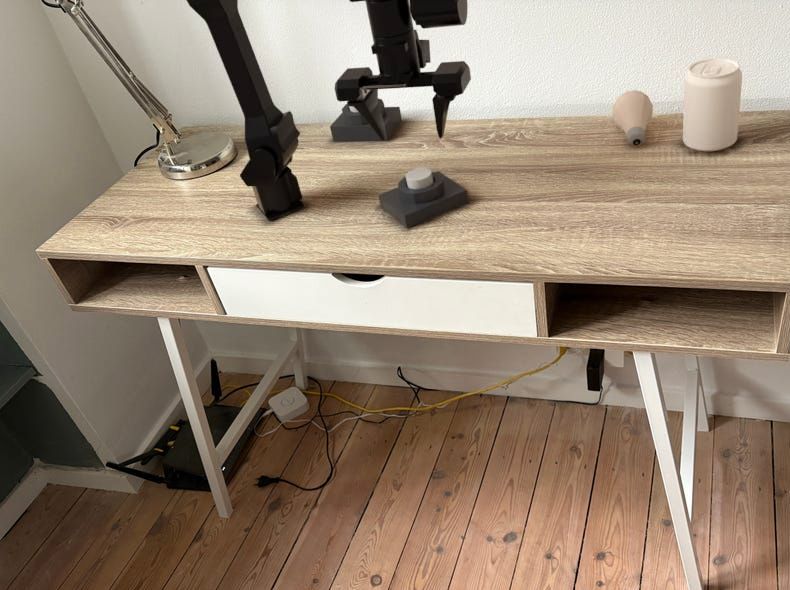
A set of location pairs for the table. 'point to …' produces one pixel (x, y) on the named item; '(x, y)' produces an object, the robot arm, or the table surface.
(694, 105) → the beverage can
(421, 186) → the small button
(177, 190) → the table surface
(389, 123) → the dark grey button mount
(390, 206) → the dark grey button base
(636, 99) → the light bulb
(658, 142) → the table surface
